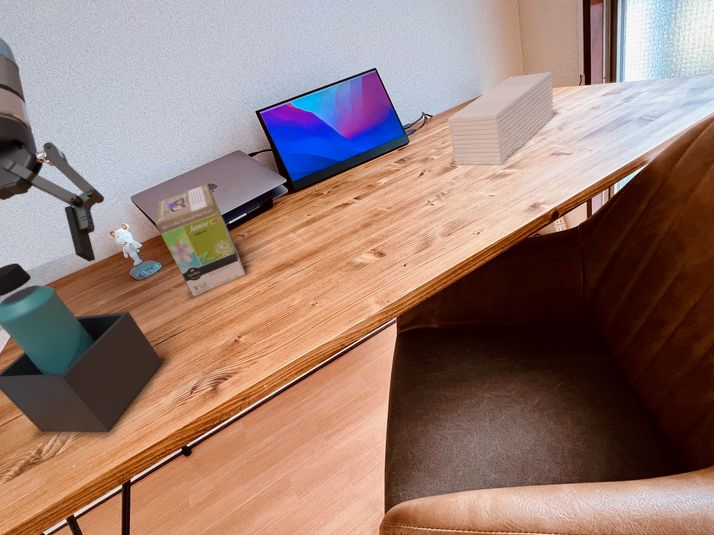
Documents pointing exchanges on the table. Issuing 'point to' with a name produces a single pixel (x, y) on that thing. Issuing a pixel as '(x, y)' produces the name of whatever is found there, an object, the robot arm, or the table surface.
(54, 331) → the beverage bottle
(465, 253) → the table surface
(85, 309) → the table surface
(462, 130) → the stack of papers
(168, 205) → the tea box
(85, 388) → the waste bin
